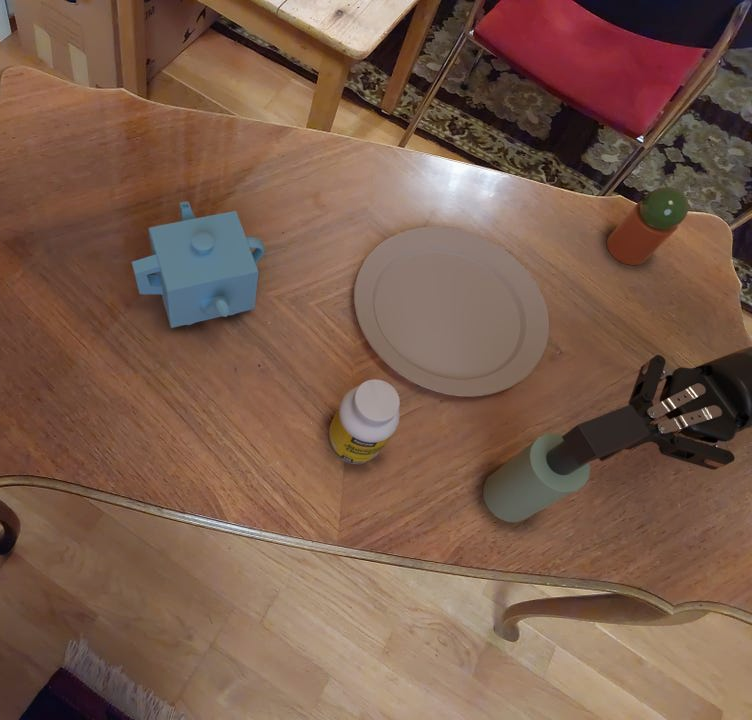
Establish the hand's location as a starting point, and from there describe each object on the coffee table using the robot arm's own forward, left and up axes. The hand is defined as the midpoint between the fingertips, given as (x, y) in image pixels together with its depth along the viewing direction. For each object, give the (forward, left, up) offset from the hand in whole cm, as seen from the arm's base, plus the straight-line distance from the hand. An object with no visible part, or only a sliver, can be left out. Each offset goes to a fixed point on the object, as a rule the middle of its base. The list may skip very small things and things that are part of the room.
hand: (616, 438), depth 65 cm
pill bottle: (+24, -2, -14) cm, 27 cm away
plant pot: (-15, -36, -14) cm, 41 cm away
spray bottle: (+4, +2, -14) cm, 14 cm away
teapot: (+44, -19, -14) cm, 50 cm away
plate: (+12, -21, -14) cm, 28 cm away
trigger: (+1, 0, -3) cm, 3 cm away
